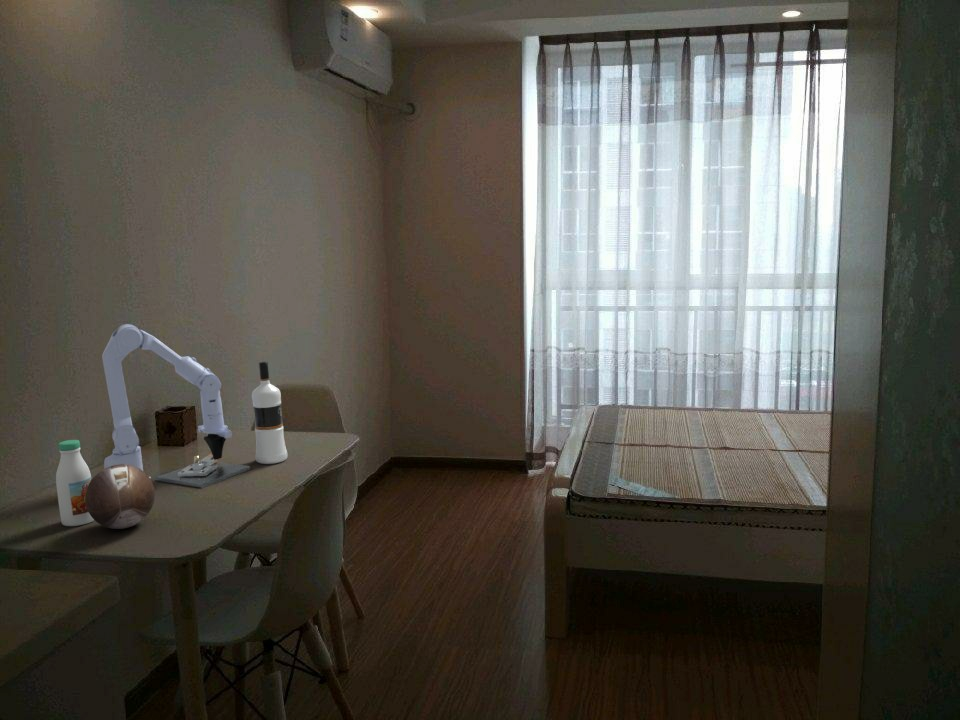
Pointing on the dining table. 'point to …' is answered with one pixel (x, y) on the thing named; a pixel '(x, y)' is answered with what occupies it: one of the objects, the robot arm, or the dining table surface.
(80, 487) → the milk bottle
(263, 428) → the vodka
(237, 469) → the base plate
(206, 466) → the silver flat metal piece
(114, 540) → the dining table surface
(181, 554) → the dining table surface
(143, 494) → the shiny brown metallic sphere
